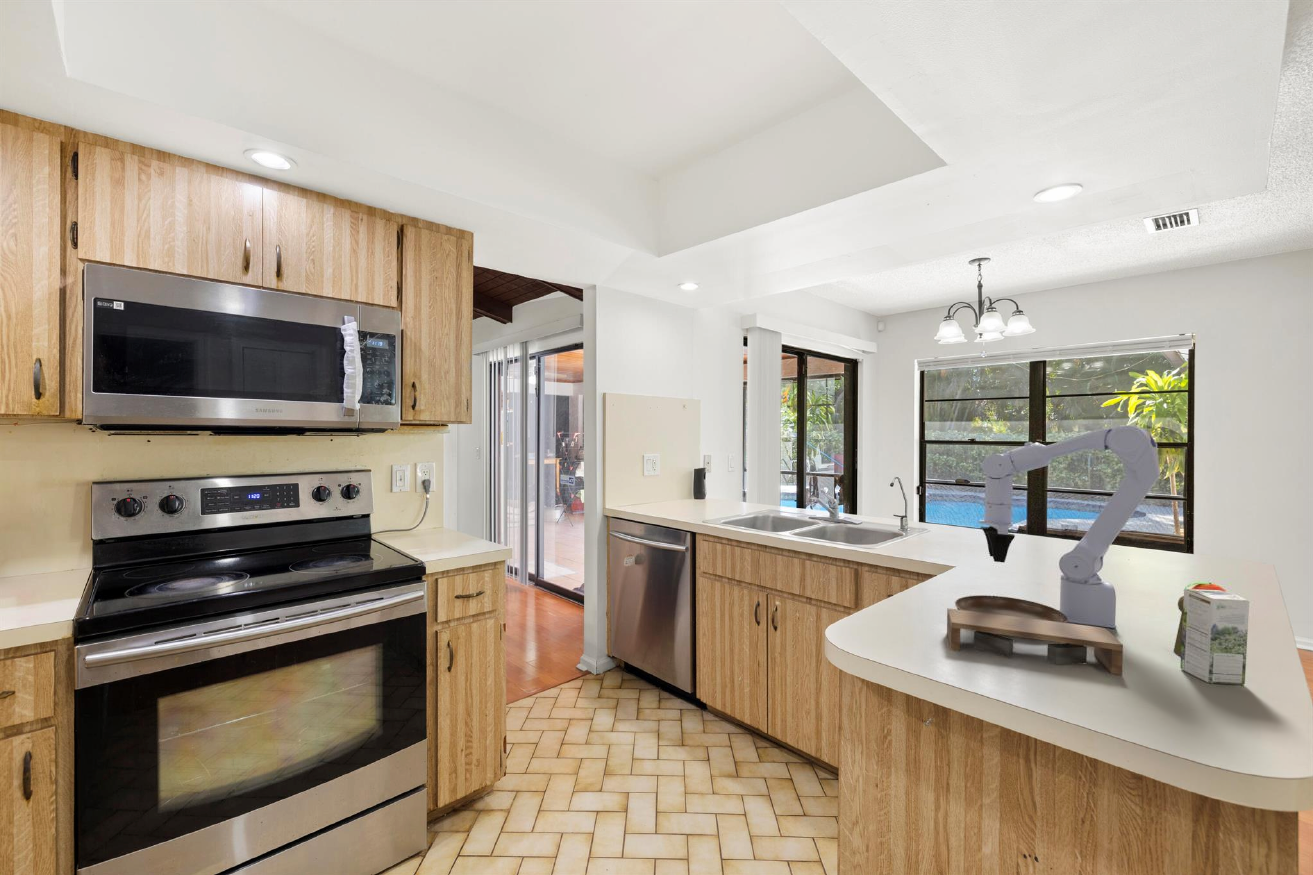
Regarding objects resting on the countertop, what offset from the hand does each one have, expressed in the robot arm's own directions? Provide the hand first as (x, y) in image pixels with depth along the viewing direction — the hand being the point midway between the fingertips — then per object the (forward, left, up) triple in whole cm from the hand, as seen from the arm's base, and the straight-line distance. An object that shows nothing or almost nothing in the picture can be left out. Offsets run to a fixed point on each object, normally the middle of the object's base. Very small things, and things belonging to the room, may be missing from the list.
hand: (997, 559), depth 136 cm
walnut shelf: (0, +34, -10) cm, 36 cm away
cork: (-29, +22, -11) cm, 38 cm away
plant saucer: (0, +16, -11) cm, 19 cm away
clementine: (-44, -12, -11) cm, 47 cm away
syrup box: (-27, +33, -11) cm, 44 cm away
